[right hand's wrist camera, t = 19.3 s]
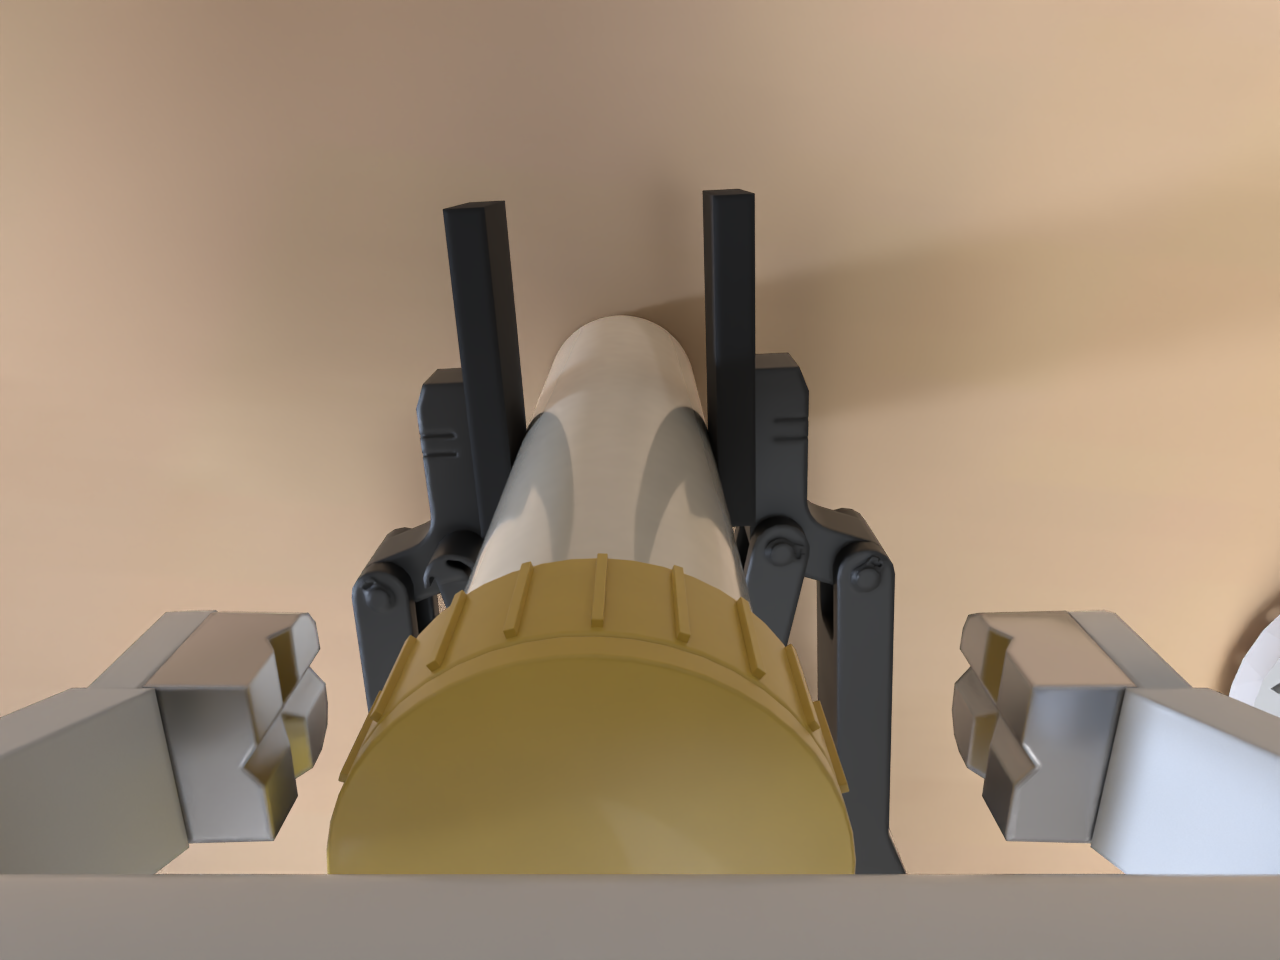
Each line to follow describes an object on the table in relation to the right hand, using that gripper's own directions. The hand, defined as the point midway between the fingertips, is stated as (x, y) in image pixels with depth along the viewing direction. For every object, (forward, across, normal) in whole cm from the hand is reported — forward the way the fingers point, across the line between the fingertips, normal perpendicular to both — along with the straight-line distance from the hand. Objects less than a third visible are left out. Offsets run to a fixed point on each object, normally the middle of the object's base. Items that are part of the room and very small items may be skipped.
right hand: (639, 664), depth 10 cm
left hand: (+10, +1, -4) cm, 11 cm away
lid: (-2, 0, +1) cm, 2 cm away
